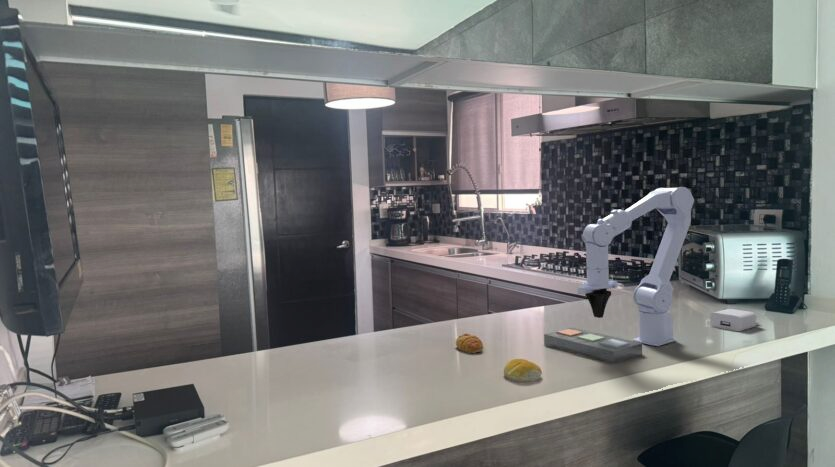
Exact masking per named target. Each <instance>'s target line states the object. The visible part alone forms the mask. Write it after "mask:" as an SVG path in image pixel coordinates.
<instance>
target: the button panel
mask: <svg viewBox="0 0 835 467" xmlns="http://www.w3.org/2000/svg"><path fill="white" fill-rule="evenodd" d="M566 329H571V330H576V331H580V332H582V334H580V335H576V336H572V337H569V336H565V335H561V334H557V332H558V331H562V330H566ZM587 334H593V335H597V336H602V337H605V339H604V340H600V341H596V342H589V341H585V340H581V339H578V337H579V336H583V335H587ZM543 338H544V339H543V342H544V346H547V347H551V348H552V347H553V348H555V349H559V350H562V351H567V352H570V353H574V354H578V355H581V356H585V357H589V358H592V359H596V360H600V361H604V362H607V363H611V364H615V363H618V362H623V361H626V360H628V359H632V358H636V357H639V356H641V355H643V343H640V342H636V341H632V340H630V339H625V338H621V337H617V336H612V335H607V334H603V333H599V332H593V331H590V330H585V329H582V328H577V327H569V328H565V329H561V330H556V331H552V332H548V333H544V334H543ZM611 339H615V340H619V341H623V342H628V343H629V345H627V346H623V347H620V348H614V347H610V346H606V345H602V344H600V342H603V341H607V340H611Z"/></svg>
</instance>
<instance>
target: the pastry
mask: <svg viewBox="0 0 835 467" xmlns="http://www.w3.org/2000/svg"><path fill="white" fill-rule="evenodd" d="M455 346H456V348H458V350H459V351H462V352H464V351H465V352H464V353H469V354H470V353H471V354H475V353H478V352H483V350H484V344H483V341H482V340H481V339H480V337H478V336H476V335H472V334H470V333H463V334H461V335H459V336H458V337H457V338H456V340H455Z"/></svg>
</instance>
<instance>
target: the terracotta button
mask: <svg viewBox="0 0 835 467" xmlns="http://www.w3.org/2000/svg"><path fill="white" fill-rule="evenodd" d="M565 329H566V330H564V329H561V330H562V331H560V330H557V331H558V332H557V334H561V335H565V336H569V337H572V336H576V335H580V334H582V332H580V331H576V330H571V329H568V328H565Z"/></svg>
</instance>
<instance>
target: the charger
mask: <svg viewBox="0 0 835 467" xmlns="http://www.w3.org/2000/svg"><path fill="white" fill-rule="evenodd" d="M710 326H711V327H713V328H717V329H724V330H729V331H734V332H735V331H736V332H742V331H744V330H749V329H751V328H755V327H757V314H756V313H755V312H752V311H748V310H741V309H740V310H739V309H736V308H735V309H734V308H727V309H723V310H719V311H714V312H711V313H710Z"/></svg>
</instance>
